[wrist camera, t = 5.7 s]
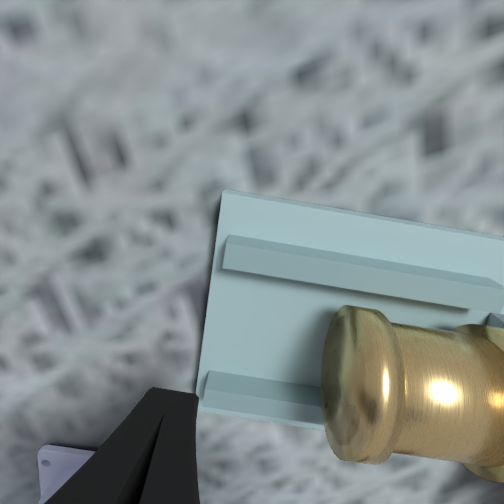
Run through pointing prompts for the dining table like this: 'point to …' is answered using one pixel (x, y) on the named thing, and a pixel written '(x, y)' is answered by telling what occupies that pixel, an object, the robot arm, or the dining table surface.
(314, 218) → the board
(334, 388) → the coupling
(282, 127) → the dining table surface
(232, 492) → the dining table surface
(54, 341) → the dining table surface
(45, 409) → the dining table surface
